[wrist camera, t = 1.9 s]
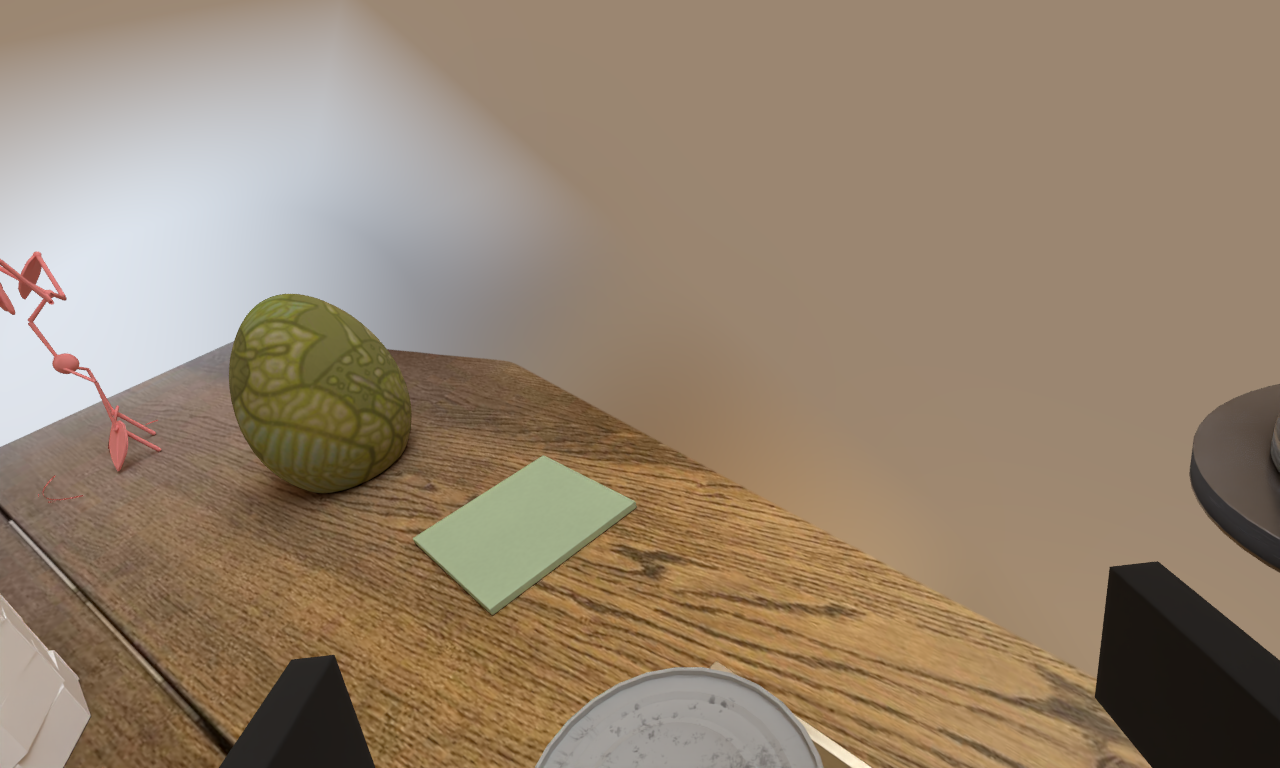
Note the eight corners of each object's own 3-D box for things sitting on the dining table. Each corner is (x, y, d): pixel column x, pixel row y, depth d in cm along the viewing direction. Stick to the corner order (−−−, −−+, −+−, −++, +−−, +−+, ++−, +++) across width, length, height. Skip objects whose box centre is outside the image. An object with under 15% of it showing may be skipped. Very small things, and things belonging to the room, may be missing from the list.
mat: (545, 460, 65) (543, 455, 65) (637, 507, 55) (635, 501, 55) (415, 543, 58) (412, 538, 58) (492, 615, 48) (489, 609, 47)
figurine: (157, 418, 108) (17, 202, 93) (173, 464, 88) (0, 201, 74) (44, 467, 100) (-128, 241, 85) (35, 529, 81) (-190, 251, 66)
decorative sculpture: (249, 519, 70) (140, 346, 61) (334, 434, 84) (256, 284, 75) (386, 502, 66) (290, 314, 57) (451, 416, 80) (382, 255, 71)
